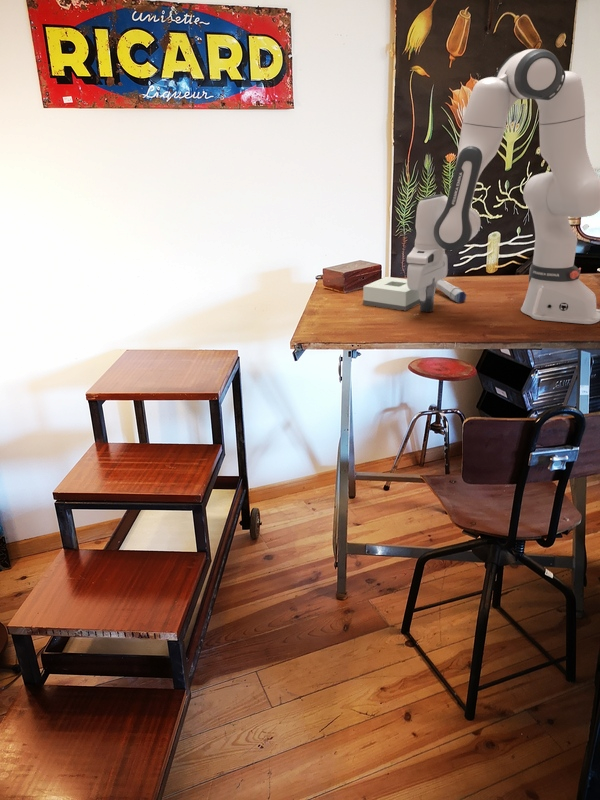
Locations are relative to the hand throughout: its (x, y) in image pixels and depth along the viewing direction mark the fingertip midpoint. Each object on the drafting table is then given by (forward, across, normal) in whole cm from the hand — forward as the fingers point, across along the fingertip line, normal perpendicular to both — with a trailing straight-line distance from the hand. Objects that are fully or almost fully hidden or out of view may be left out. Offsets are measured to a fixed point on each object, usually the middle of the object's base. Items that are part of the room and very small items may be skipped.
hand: (427, 298), depth 183 cm
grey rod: (+5, -21, -5) cm, 22 cm away
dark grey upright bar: (+4, 0, 0) cm, 4 cm away
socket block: (+4, -4, -13) cm, 14 cm away
